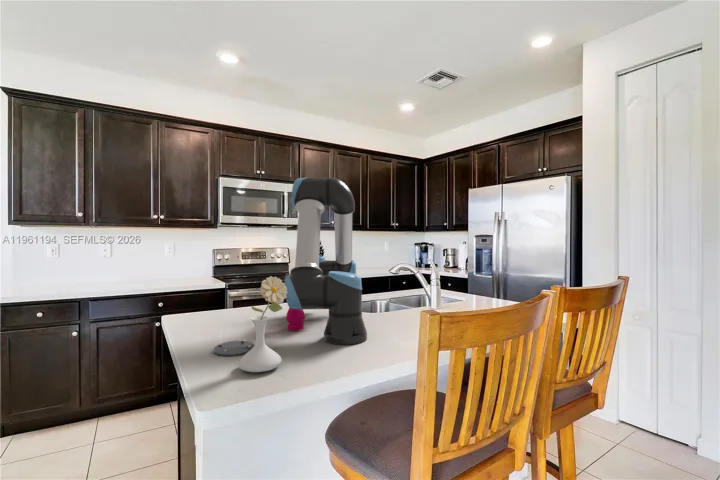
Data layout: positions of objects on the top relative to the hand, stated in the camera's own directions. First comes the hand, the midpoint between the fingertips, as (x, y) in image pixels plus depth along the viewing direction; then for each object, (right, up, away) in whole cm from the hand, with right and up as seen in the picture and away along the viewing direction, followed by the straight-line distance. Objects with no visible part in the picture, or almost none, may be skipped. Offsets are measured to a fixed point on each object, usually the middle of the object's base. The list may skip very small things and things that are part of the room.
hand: (292, 302), depth 135 cm
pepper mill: (+1, -11, +3) cm, 12 cm away
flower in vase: (-1, -11, -38) cm, 40 cm away
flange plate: (-14, -11, -22) cm, 29 cm away
